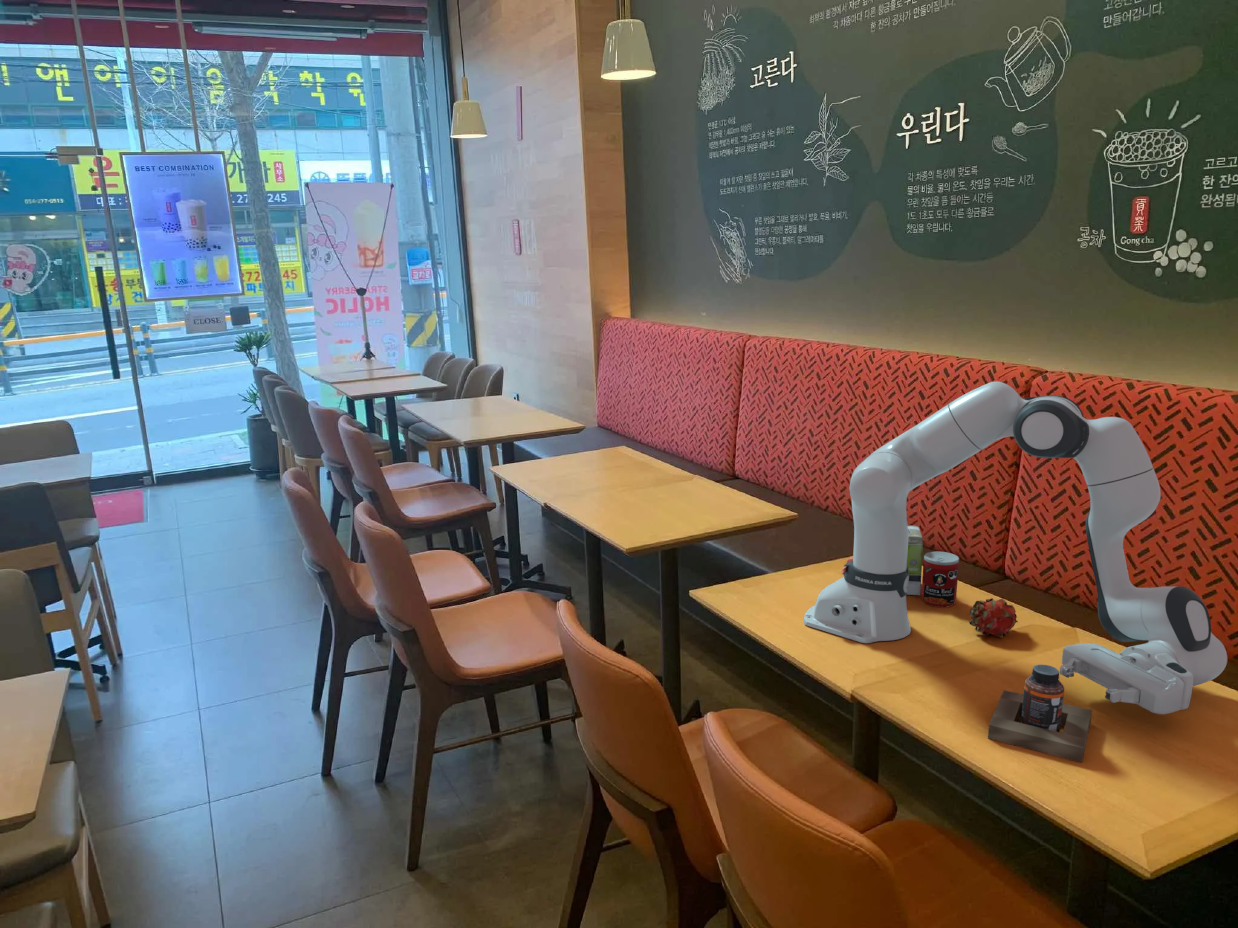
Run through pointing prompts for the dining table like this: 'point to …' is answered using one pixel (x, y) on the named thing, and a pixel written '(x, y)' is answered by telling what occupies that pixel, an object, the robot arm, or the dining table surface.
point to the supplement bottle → (1043, 698)
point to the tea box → (914, 560)
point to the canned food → (940, 579)
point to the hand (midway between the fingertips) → (1085, 683)
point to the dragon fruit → (993, 617)
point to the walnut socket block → (1040, 729)
